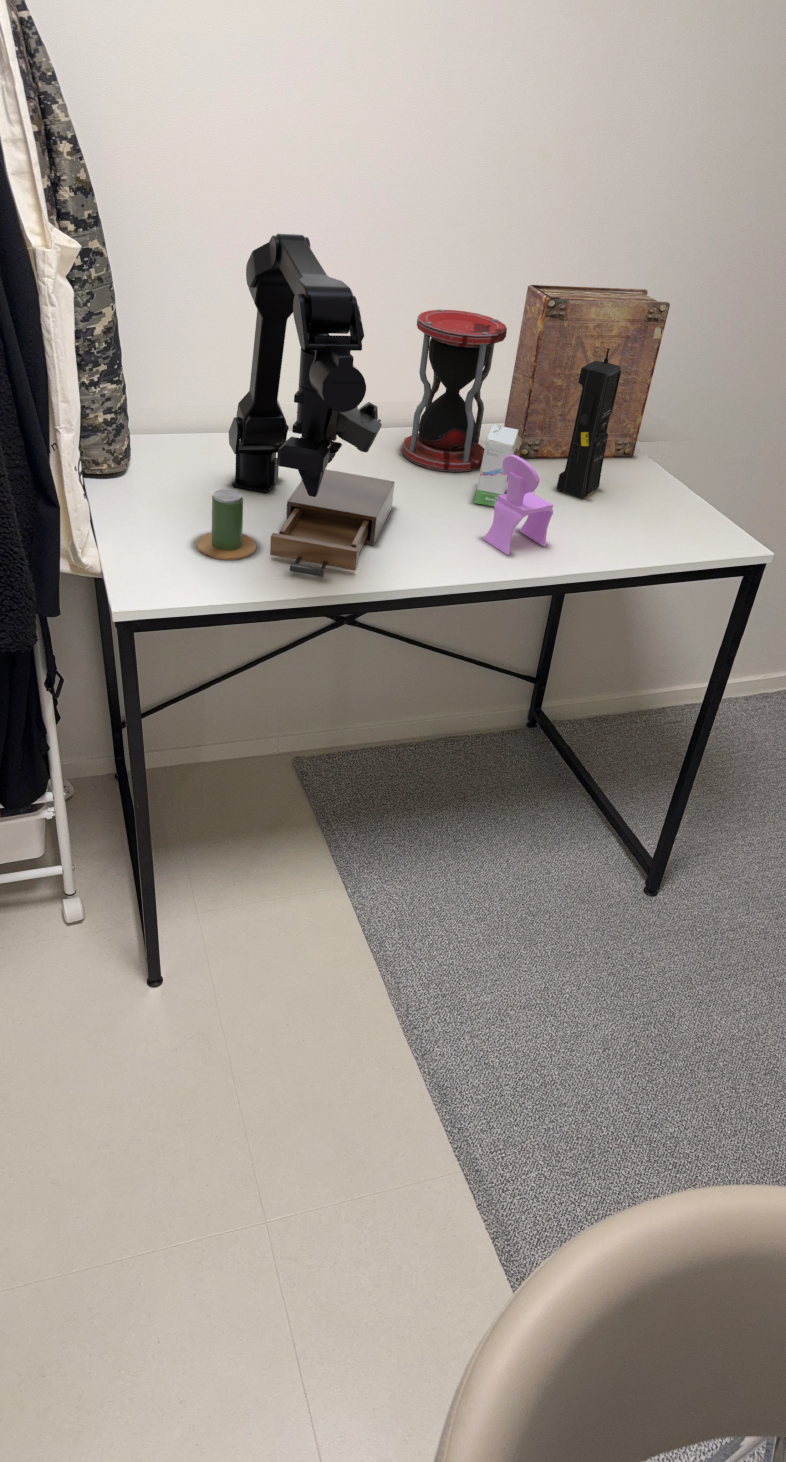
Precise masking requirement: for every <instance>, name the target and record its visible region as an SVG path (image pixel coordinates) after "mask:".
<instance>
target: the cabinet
mask: <svg viewBox="0 0 786 1462" xmlns="http://www.w3.org/2000/svg"><path fill="white" fill-rule="evenodd" d="M394 491H395V481H393V480H389V479H383V478H377V477H371V476H365V475H359V474H354V473H349V472H348V473H347V472H343V471H337V470H332V469H327V468H325V471H324V475H323V478H322V481H321V484H320V488H319V491H318V494H317V496H316V497H312V496H309V495H308V493H307V490H306V488H305V486H304V483H303V481H302V480H301V481H300V483H299V484H298V485H297V486H296V488H295V490H294V491H293V492H292V494H291V496H290V497H289V498H288V499H287V502H286V517H285V521H286V520H287V519H288V517H289V516H290V514H291V513H292V511H293V510H294V509H295V507H300V508H305V509H311V510H316V511H322V512H328V513H333V514H339V515H344V516H350V517H355V518H361V519H366V520H372V524H371V531H370V533H369V535H368V537H367V539H366V540H365V542H364V544H363V545H367V546H375V544H376V542H377V540H378V537H379V535H380V534H381V532H382V529H383V527H384V525H385V523H386V521H387V519H388V517H389V514H390V513H391V510H392V508H393V501H394V500H393V499H394Z"/></svg>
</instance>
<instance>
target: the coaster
mask: <svg viewBox="0 0 786 1462" xmlns="http://www.w3.org/2000/svg"><path fill="white" fill-rule="evenodd" d="M196 548H197V550H198V551H199V553H200V554H202V555H204V556H206V557H209V558H213V559H217V560H224V561H235V560H241V559H245V558H248V557H250V556H252V555H253V554H254V553H255V552H256V550H257V544H256V542H255V540H254V539H253V538H252V537H250V536H248V535H246V534H243V533H242V546H241V547H240V548H239V549H236V550H220V549H217V548H215V547H214V546H213V545H212V532H208V533H205V534H202V535H201V536H200V537H199V538H197V540H196Z"/></svg>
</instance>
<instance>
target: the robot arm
mask: <svg viewBox="0 0 786 1462" xmlns="http://www.w3.org/2000/svg"><path fill="white" fill-rule="evenodd" d="M245 279H246V285H247V287H248V290H249V293H250V295H251V298H252V300H253V303H254V306H255V307H256V319H255V329H254V341H253V349H252V360H251V371H250V382H249V389H248V392H247V393H246V394H244V396H243V397H242V399H240V400H239V402H238V404H237V411H236V416H235V417H233V419H232V421H231V425H230V427H229V429H228V444H229V447H230V448H231V450H232V452H233V454H234V455H235V471H234V473H235V474H234V475H235V476H234V477H235V478H234V480H233V481H232V482H231V486H232V487H234V488H240V489H245V490H251V491H257V492H262V493H270V491H271V489H273V487H274V486H275V485H276V484H277V483H278V481H279V469H280V468H281V467H282V468H287V469H293V470H297V471H298V473H299V476H300V478H301V481H303V483H304V486H305V488H306V490H307V493H308V495H309V496H312V497H316V496H317V494H318V491H319V488H320V484H321V481H322V478H323V475H324V471H325V469H327V467H328V465H329V464H330V463H331V462H333V460H334V458H335V457H336V455H337V453H338V452H339V450H340V449H341V447H342V446H343V443H342V442H338V441H336V440H337V439H338V438H337V437H339V438H340V439H341V440H342V441H345V442H346V443H349V444H350V445H351V446H354V447H355V448H356V450H358V451H360V452H362V453H368V452H369V451H370V449H371V447H372V446H373V444H374V442H375V440H376V438H377V436H378V434H379V432H380V430H381V428H382V425H383V424H382V419H380V418H379V416H378V415H379V414H378V413H379V412H378V406H377V405H375V404H374V403H371V402H370V401H368V402H366V403H365V404H363V405H362V406H361V407H359V405H360V404H361V403H362V402H363V401H364V399H365V396H366V392H367V384H366V380H365V376H364V374H362V373H361V371H360V370H359V369H358V368H357V367H356V365H355V364H354V356H353V355H352V354H351V351H359V352H361V351H363V342H362V341H363V340H364V338H365V332H364V325H363V321H362V316H361V310H360V305H359V304H358V300H357V297H356V296H355V295H354V293H353V291H352V289H351V287H349V286H348V285H347V284H346V283H345V282H344V281H343V280H341V279H337V278H334V277H330V276H329V275H328V274H327V272H326V271H325V269H324V268H323V266H322V264H321V263H320V261H319V260H318V258H317V257H316V255H315V254H314V251H313V250H312V249H311V241H310V238H309V237H308V236H305V235H304V234H295V233H290V234H289V233H277V234H276V235H272V236H271V237H270V238H269V241H268V242H266V243H264V244H263V245H261V246H258V247H257V248H255V249H254V250H252V251H251V253H250V256H249V257H248V260H247V262H246V267H245ZM292 315H293V321H294V324H295V330H296V332H297V333H296V334H297V337H298V338H297V339H298V342H299V346H300V353H299V354H300V356H299V370H298V371H299V373H298V389H297V391H296V392H295V393H294V395H293V403H295V404H297V405H296V407H297V408H296V421H295V422H294V423H293V424H292V430H291V431H292V433H293V434H298V435H301V436H300V437H295V436H290V437H289V438H288V439H287V436H288V432H289V428H290V427H289V425H288V423H287V420H286V418H285V414H284V412H283V410H282V409H283V408H282V407H281V405H280V402H279V399H278V397H279V391H280V390H279V389H280V382H281V373H282V365H283V358H284V357H283V356H284V349H285V340H286V331H287V325H288V319H289V318H291V316H292ZM332 334H334V335H332ZM335 334H337V335H335ZM340 334H341V335H340ZM348 334H349V335H348Z"/></svg>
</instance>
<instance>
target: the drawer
mask: <svg viewBox="0 0 786 1462" xmlns="http://www.w3.org/2000/svg"><path fill="white" fill-rule="evenodd" d="M371 524H372V520H366V519H361V518H355V517H350V516H344V515H339V514H333V513H328V512H322V511H316V510H311V509H305V508H300V507H295V509H294V510H293V511H292V513H291V514H290V516H289V517H288V519H287V520H286V519H285V522H284V523H283V525H282V526H281V527H280V529H279V530H278V533H277V532H272V533H271V535H270V546H269V547H270V548H269V556H271V557H272V556H273V557H278V558H283V559H289V560H294V562H291V563H290V565H289V572H293V573H299V574H303V575H309V576H314V577H318V578H319V577H320V578H324V577H325V572H326V571H325V570H326V569H327V567H332V568H338V569H343V570H348V571H354V572H355V571H356V570H357V568H358V562H359V561H358V560H359V554H360V553H361V551H362V548H363V546H364V545H365V544H364V542H365V540H366V539H367V537H368V535H369V533H370V531H371ZM301 562H305V563H310V564H316V565H320V567H316V566H311V565H305V564H301Z"/></svg>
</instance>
